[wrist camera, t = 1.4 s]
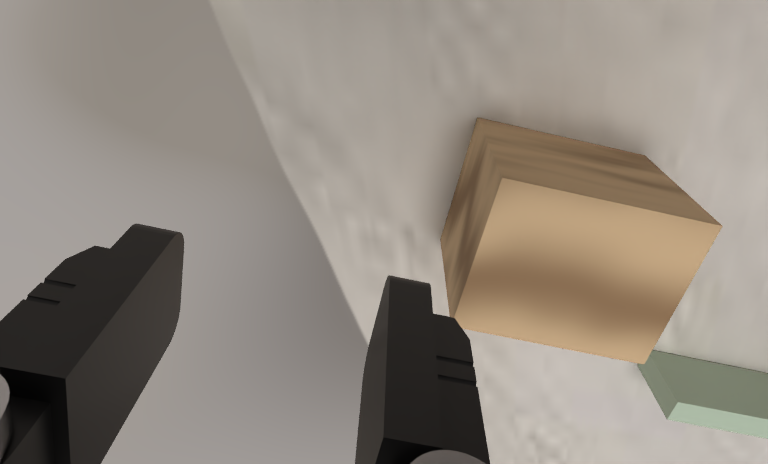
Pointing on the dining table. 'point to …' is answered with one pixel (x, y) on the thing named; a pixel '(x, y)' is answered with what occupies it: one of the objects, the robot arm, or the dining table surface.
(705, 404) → the bay
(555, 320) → the oak block
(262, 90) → the dining table surface
